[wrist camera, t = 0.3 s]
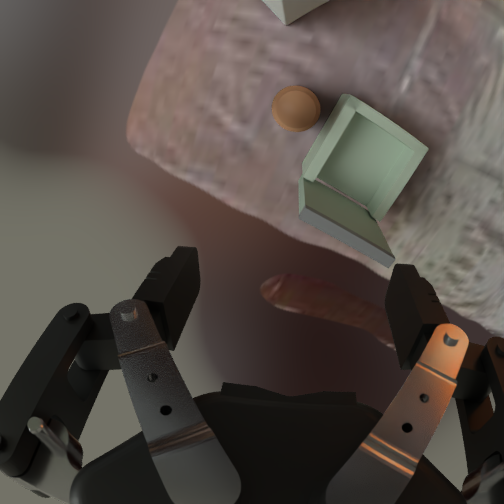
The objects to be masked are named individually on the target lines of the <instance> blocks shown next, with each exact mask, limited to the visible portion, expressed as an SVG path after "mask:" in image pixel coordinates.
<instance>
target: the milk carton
mask: <svg viewBox="0 0 504 504" xmlns="http://www.w3.org/2000/svg"><path fill="white" fill-rule="evenodd" d="M262 1H263V2H264V3H265V4H266V5H267V6H268V7H269V8H270V9H271V10H272V12H273V13H274V14H275V15H276V16H277V17H278V18H279V19H280V20H281V21H282V23H283V24H284V25H288V24H290V23H291V22H293V21H295V20H296V19H298V18H300V17H301V16H303V15H305V14H306V13H308V12H310V11H312V10H313V9H315V8H317V7H319V6H320V5H322V4H324V3H326V2H328V1H330V0H262Z"/></svg>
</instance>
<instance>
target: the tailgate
mask: <svg viewBox="0 0 504 504" xmlns="http://www.w3.org/2000/svg"><path fill="white" fill-rule="evenodd" d="M299 219H300V220H302V221H304V222H306V223H308V224H310V225H312V226H314V227H315V228H317V229H319V230H321V231H323V232H325V233H327V234H328V235H330V236H332V237H334V238H336V239H338V240H339V241H341V242H343V243H345V244H347V245H348V246H350V247H352V248H354V249H356V250H357V251H359V252H361V253H363V254H364V255H366V256H368V257H370V258H371V259H373V260H375V261H377V262H378V263H380V264H382V265H384V266H385V267H387V268H389V267H390V266H391V264H392V263H393V262H394V261H395V257H394V255H393V254H392V252H391V250H390V248H389V246H388V243H387V241H386V239H385V237H384V235H383V233H382V231H381V229H380V228H379V226H378V224H377V222H376V220H375V218H373V217H372V216H371V214H370V212H369V211H368V210H366V209H364V208H363V207H361V206H359V205H358V204H356V203H354V202H353V201H351V200H349V199H348V198H346V197H344V196H342V195H341V194H339V193H337V192H336V191H334V190H332V189H330V188H329V187H327V186H325V185H323V184H322V183H320V182H318V181H316V180H314V182H311V181H309V180H308V179H306V178H304V177H303V174H302V175H301V177H300V179H299Z"/></svg>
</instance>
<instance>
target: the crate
mask: <svg viewBox="0 0 504 504" xmlns="http://www.w3.org/2000/svg"><path fill="white" fill-rule="evenodd" d="M428 149H429V148H427V147H426V146H425V145H424V144H422V143H421V142H420V141H418V140H417V139H416V138H414V137H413V136H412V135H410V134H409V133H408V132H406V131H405V130H404V129H402V128H401V127H399V126H398V125H397V124H395V123H394V122H392V121H391V120H389V119H388V118H386V117H385V116H383V115H382V114H381V113H379V112H377V111H376V110H374V109H373V108H371V107H370V106H368V105H367V104H365V103H364V102H362V101H360V100H359V99H357V98H355V97H354V96H352V95H349V94H342V95H341V97H340V98H339V100H338V102H337V104H336V105H335V107H334V109H333V111H332V112H331V114H330V116H329V118H328V119H327V121H326V123H325V124H324V126H323V128H322V130H321V131H320V133H319V135H318V137H317V138H316V140H315V142H314V143H313V145H312V147H311V149H310V150H309V152H308V154H307V156H306V157H305V159H304V161H303V162H302V169H303V177H304V178H306V179H308V180H309V181H311V182H314V180H315V179H316V177H317V178H319V179H320V180H322V181H324V182H326V183H327V184H329V185H331V186H333V187H334V188H336V189H338V190H340V191H341V192H343V193H345V194H346V195H348V196H350V197H352V198H353V199H355V200H357V201H358V202H360V203H361V204H363V205H365V206H366V207H367V208H368V210H369V212H370V214H371V216H372V217H373V218H375V219H376V220H378V221H379V222H380V221H381V220H382V219H383V217H384V216H385V214H386V213H387V211H388V210H389V208H390V207H391V206H392V204H393V203H394V201H395V200H396V198H397V197H398V195H399V194H400V192H401V191H402V189H403V188H404V186H405V185H406V183H407V182H408V180H409V179H410V177H411V176H412V174H413V173H414V171H415V170H416V168H417V167H418V165H419V163H420V162H421V160H422V159H423V157H424V156H425V154H426V152H427V151H428Z"/></svg>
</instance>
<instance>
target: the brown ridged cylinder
mask: <svg viewBox="0 0 504 504" xmlns="http://www.w3.org/2000/svg"><path fill="white" fill-rule="evenodd" d="M272 113H273V116H274V119H275V120H276V122H277V123H278V124H279V125H280V126H281V127H282V128H284V129H286V130H289V131H293V132H301V131H305V130H308V129H310V128H311V127H312V126H313V125H314V124H315V123H316V122H317V120H318V118H319V116H320V103H319V101H318V99H317V97H316V96H315V94H314V93H313V92H312V91H310V90H309V89H307V88H305V87H302V86H289V87H286V88H284V89H282V90H281V91H280V92H278V94H277V95H276V96H275V98H274V100H273V103H272Z"/></svg>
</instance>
